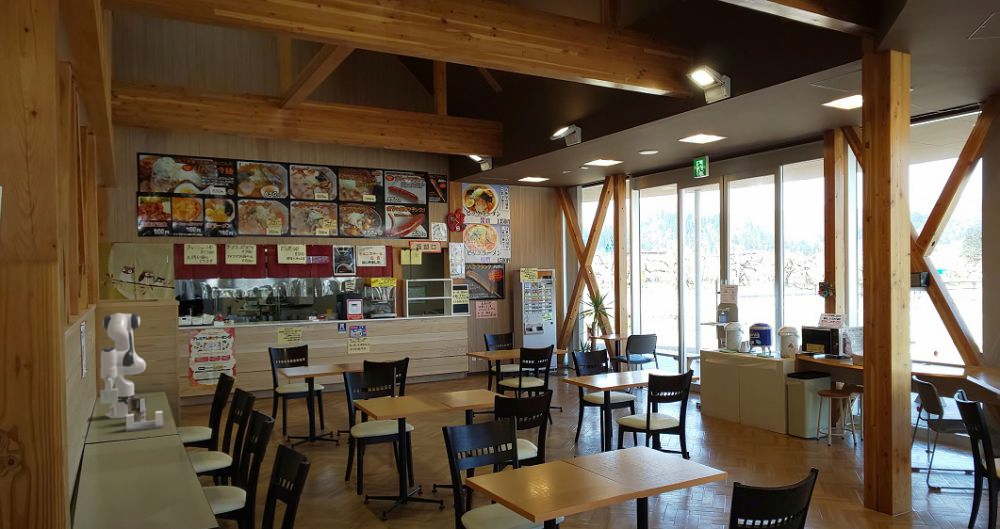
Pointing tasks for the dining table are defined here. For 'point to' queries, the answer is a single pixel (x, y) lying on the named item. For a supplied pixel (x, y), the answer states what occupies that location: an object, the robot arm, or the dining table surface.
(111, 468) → the dining table surface
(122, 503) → the dining table surface
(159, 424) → the module rack
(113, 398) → the block
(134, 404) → the coffee box
